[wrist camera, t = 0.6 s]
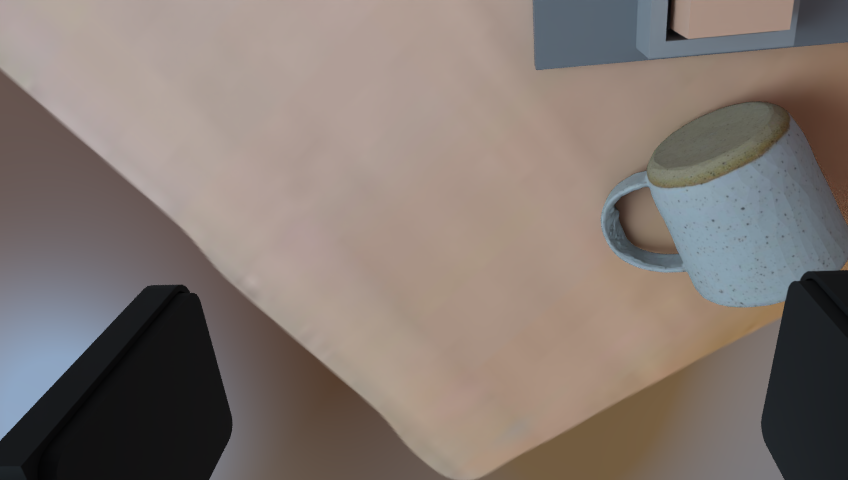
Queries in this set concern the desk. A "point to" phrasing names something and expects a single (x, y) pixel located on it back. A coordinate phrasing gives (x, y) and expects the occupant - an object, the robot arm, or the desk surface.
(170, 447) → the robot arm
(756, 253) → the ceramic mug
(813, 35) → the keypad
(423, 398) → the desk surface
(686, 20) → the terracotta key
